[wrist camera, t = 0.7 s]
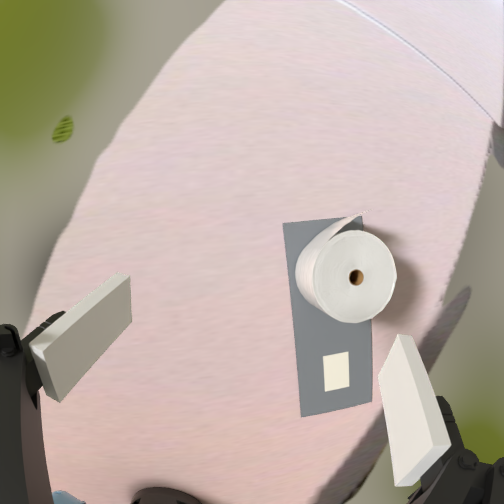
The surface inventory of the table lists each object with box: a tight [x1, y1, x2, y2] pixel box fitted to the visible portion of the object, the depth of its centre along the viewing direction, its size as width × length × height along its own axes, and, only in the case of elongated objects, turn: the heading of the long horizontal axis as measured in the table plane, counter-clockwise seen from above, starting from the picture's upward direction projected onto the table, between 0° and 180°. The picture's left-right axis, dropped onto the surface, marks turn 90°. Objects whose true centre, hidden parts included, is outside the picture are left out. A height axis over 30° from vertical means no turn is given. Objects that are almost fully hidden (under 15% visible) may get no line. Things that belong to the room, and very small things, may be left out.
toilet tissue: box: [295, 209, 397, 323], centre depth 39 cm, size 11×12×10 cm
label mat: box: [283, 216, 372, 417], centre depth 44 cm, size 30×12×1 cm, turn 7°
